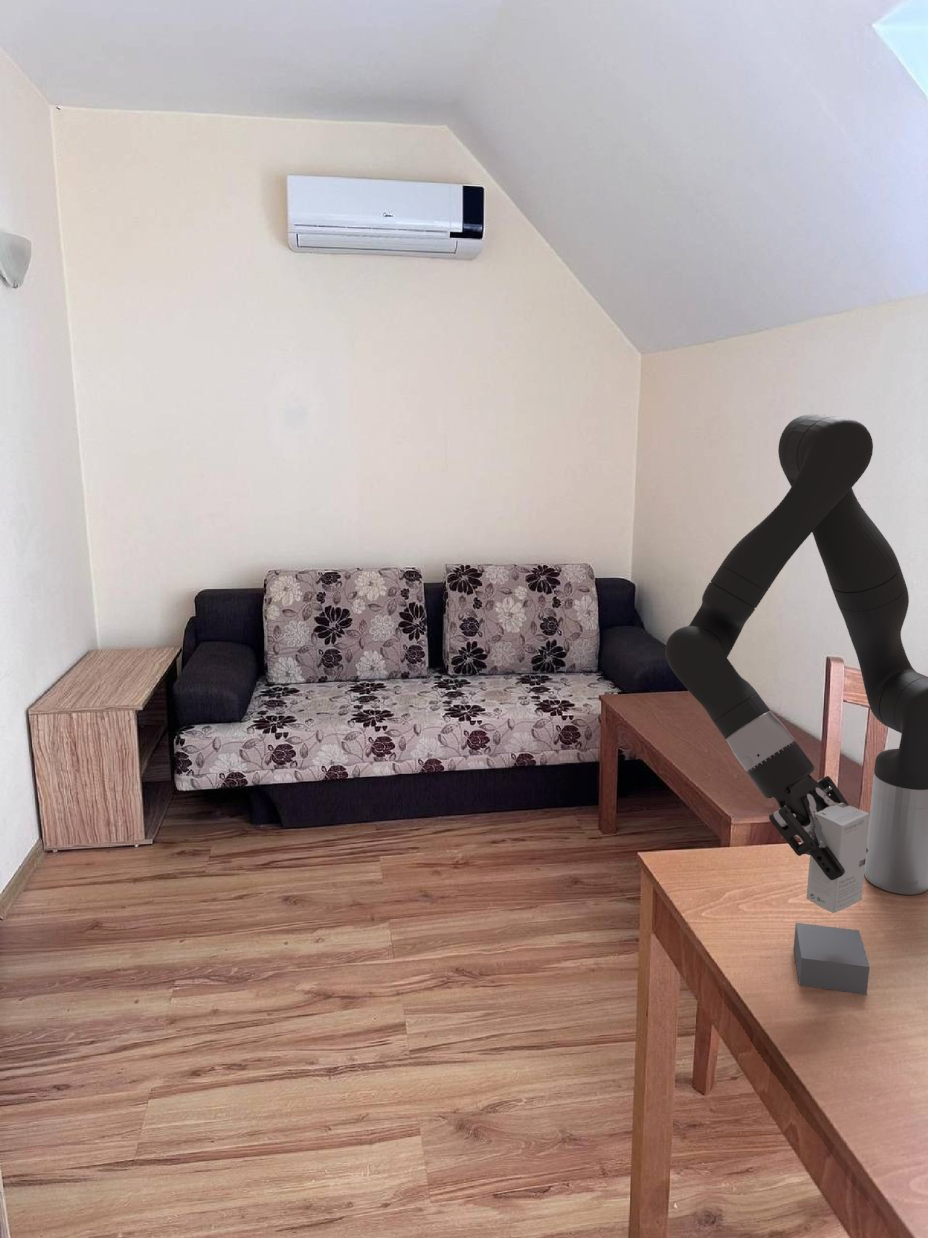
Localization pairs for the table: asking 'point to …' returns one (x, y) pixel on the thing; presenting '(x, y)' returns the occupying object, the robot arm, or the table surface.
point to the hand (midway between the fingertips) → (850, 865)
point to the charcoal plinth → (831, 958)
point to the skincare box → (840, 857)
